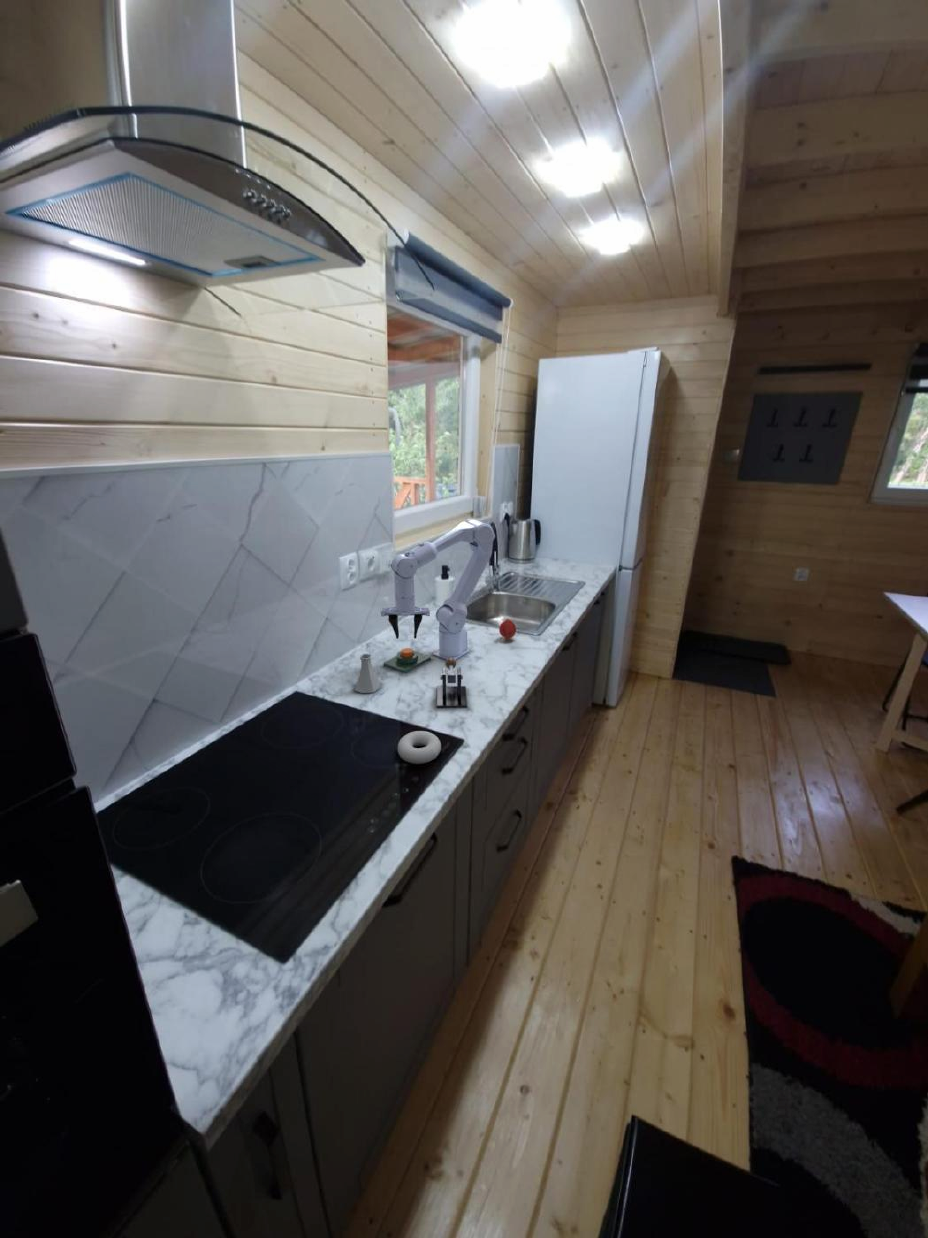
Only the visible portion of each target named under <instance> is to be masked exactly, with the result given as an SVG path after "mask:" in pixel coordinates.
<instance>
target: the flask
mask: <svg viewBox="0 0 928 1238" xmlns="http://www.w3.org/2000/svg"><path fill="white" fill-rule="evenodd" d="M371 659H372V654H370V653H362V654H360V655H359V660H360V664H361V665H360V671H359V674H358V678H357V681H356V683H355V688H354V689H355V690H354V691H355V692H358V693H360V694H371V693H375V692H377V691H378V690H380V689H381V681H380V680H379V677H378V676H377V674H376V672H375V669H374V667H373V665H372V660H371Z"/></svg>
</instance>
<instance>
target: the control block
mask: <svg viewBox="0 0 928 1238" xmlns="http://www.w3.org/2000/svg"><path fill="white" fill-rule="evenodd" d="M429 661H431V656H430V655H427V654H424V653H421V652H418V651H416V650H413V656H412V657H409V658H404V657H402V656H401V650H400V651H398V652H397V653H396V656H394V657H392V658H390V659H388V660H386V661H384V662H383V667H387V668H390V669H392V670H395V671H398V672H400V673H403V674H407V673H409V672H410V671H412V670H414V669H416V668H417V667H419V666H421V665H423V664H424V663H425V662H426V663H427V662H429Z"/></svg>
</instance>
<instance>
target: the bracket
mask: <svg viewBox="0 0 928 1238" xmlns="http://www.w3.org/2000/svg"><path fill="white" fill-rule="evenodd" d="M439 677H440V680H442V681H441V683H442V684H441V686H436V709H462V708H463V709H464V708H465V709H466V708H468V700H467V687H466V685H462V680H463V679H464V674H463V673H462V668H461V666H456V685H455V686H454V685H453V686H448V685H447V667H446V666H443V667H442V668H441V674H440V675H439Z"/></svg>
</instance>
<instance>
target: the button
mask: <svg viewBox="0 0 928 1238" xmlns="http://www.w3.org/2000/svg"><path fill="white" fill-rule="evenodd" d="M400 651H401V656H402V657H404V658H409V657H412V656H413V651H414V650H413V648H410V647H406V648H402V649H401V650H400Z"/></svg>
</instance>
